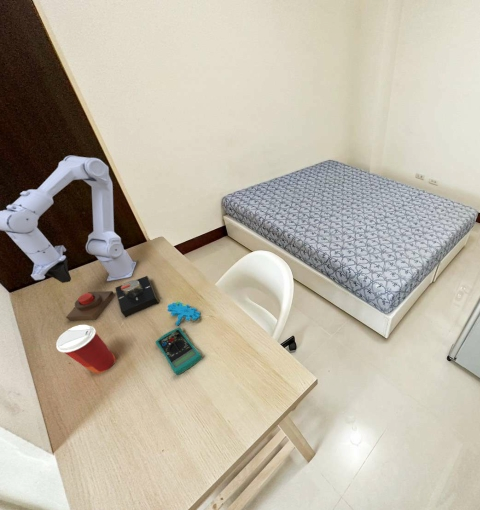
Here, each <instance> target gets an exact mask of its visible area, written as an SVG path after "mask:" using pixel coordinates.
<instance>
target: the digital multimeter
mask: <svg viewBox="0 0 480 510" xmlns="http://www.w3.org/2000/svg"><path fill="white" fill-rule="evenodd" d="M154 342H155V345H156V346H157V348H159V350H160V351H161V352H162V354H163V356H164V357H165V359H166V361H167V362H168V364H169V366H170V367H171V369H172V371H173V373H174V374H175V376H178V375H180V374H182V373H184V372H186V371H187V370H188V369H190V368H191V367H193V366H194V365H195V364H196V363H198V362H199V361H201V359H203V356H202V355H201V353H200V352H199V351H198V349H197V348H196V347H195V346H194V345H193V344H192V342H191V341H190V340H189V338H188V336H187V335H186V334H185V332H184V331H183V330H182V328H181V327H176V328H174V329H171V330H170V331H168V332H166V333H164V334H163V335H162V336H161V337H159V338H157V340H155V341H154Z"/></svg>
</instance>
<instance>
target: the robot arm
mask: <svg viewBox="0 0 480 510" xmlns="http://www.w3.org/2000/svg"><path fill="white" fill-rule="evenodd" d="M109 171H110V169H109V166H108V165H107V164H106V163H105V162H103V160H101V159H100V158H97V157H84V156H78V155H67V156H65V157H64V158H63V160H61V161H59V162H58V165H57V167H56V169H55V170H54V171H53V172H52V173H51V174H50V175H49V176H48V177H47V178H46V179H45V181H43V182H42V184H41V185H40V186H39V187H37V189H27V190H23V191H22V192H20V193H19V195H20V196H19V197H18V198H17V199H16V200H15V201H13V202H12V203H11V204H8V205H6V206H5V207H6V209H3V210H0V231H2V232H5V233H6V234H7V235H8V236H9V238H11V240H12V241H13V242H14V243H15V244H16V246H18V247H19V249H21V251H22V252H23V253H24V254H25V255H26V256H27V257H28V258H29V259H30V260H31V261H32V263H33V268H32V273H31V274H30V276H31V278H32V279H33V280H34V281H40V280H45V278H46V276H48V277H51V278H53V279H55V280H57V281H58V282H60V283H62V284H63V283H69V282H71V280H72V277H71V274H70V272H69V268H68V259H67V256H66V255H63V254H64V253H65V252H66V251H67V248H65V246H64V245H63V244H62V245H55V246H53V245H52V244H51V242H50V241H49V240H48V238H46V236H45V235H44V234H43V233H42V231H41V230H40V229H39V228H38V224H39V222H38V220H39V219H40V217H41V216H42V215H43V214H44V213H45V212H46V211H48V209H49V208H50V207H51V206H52V205H54V199H53V197H54V196H56V195H57V194H58V193H59V192H61V190H63V189H64V188H65V187H66V186H68V185H69V184H70V183H72V182H73V181H75V180H82V181H84V183H86V184H87V185H89V187H91V203H92V206H91V207H92V225H93V226H92V228H93V231H92V232H91V233H89V234H88V236H87V237H88V238H87V242H86V243H85V250H86V253H88V254H89V255H93V256H95V257H96V259H97V260H98V261H99V262H100V264H101V266H102V267H103V268H104V269H105V271H106V272H107V274H108V276H107V278H106V281H107V282H112V281H118V280H123V279H128V278H131V277H132V275H133V273H134V271H135V268H136V265H137V261H133V259H132V258H131V256H130V255H129V252H128V251H127V250H126V249H124V245H123V243H122V238H121V237H120V236H119V235H118V234H117V233H116V232H115V222H114V221H115V219H114V190H113V189H114V187H113V186H114V185H113V181H112V179H111V176H110V172H109ZM45 275H46V276H45Z"/></svg>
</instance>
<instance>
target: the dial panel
mask: <svg viewBox="0 0 480 510" xmlns="http://www.w3.org/2000/svg"><path fill="white" fill-rule="evenodd" d="M136 280H137V281H139V283H140V284H141V286H142V287H143V292H142V293H141V294H140V295H139V296H136V297H133V298H128V297H127V296H126V295H125V294H124V292H123V291H122V290H121V287H122V285H123V284H122V285H118V286H116V287H115V292H116V293H115V294H116V296H117V301H118V305H119V309H120V312H121V314H122V315H123V317H124V318H128V317H130V316H132V315H134V314H137V313H139V312H142V311H145V310H146V309H149V308H151V307H153V306H157V305H159V303H160V302H159V300H158V297H157V294H156V291H155V289H154V287H153V284H152V281H151V280H150V278H149V276H148V275H146V276H143V277H140V278H137V279H136Z"/></svg>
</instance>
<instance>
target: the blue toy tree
mask: <svg viewBox="0 0 480 510" xmlns="http://www.w3.org/2000/svg"><path fill="white" fill-rule="evenodd" d="M166 311H167V312H169V313H170V316H172V317H176V316H177V317H176V319H177V320H176V322H175V325H176V326H179V325H180V323H181V322H182V320H183V319H184V321H187V322H190V320H191V321H197V319H200V317H201V314H200V311H198V310H197V308H196V307H191V305H190V304H184V303H183V302H181V301H180V300H176V302H172V303H169V304H168V305H167V310H166Z"/></svg>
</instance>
